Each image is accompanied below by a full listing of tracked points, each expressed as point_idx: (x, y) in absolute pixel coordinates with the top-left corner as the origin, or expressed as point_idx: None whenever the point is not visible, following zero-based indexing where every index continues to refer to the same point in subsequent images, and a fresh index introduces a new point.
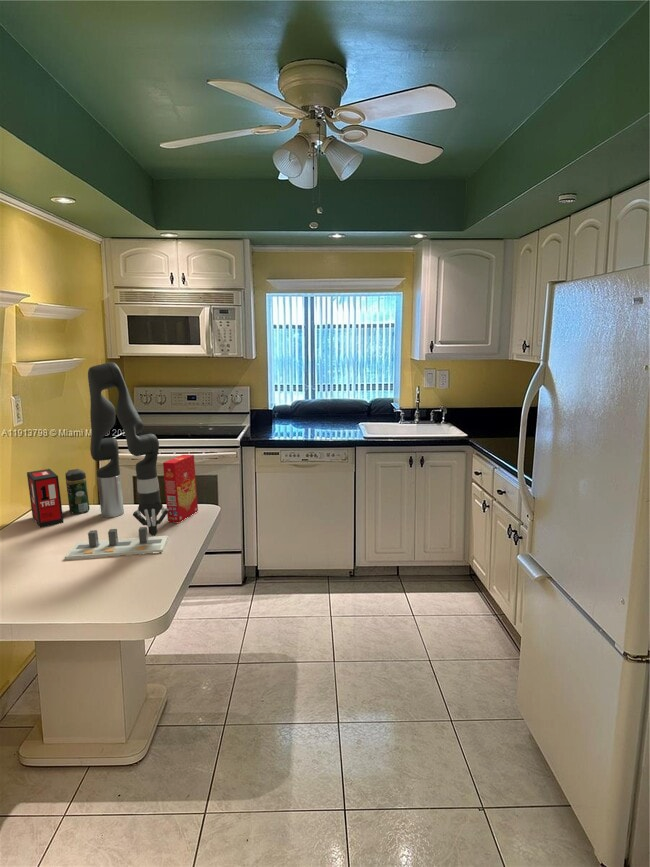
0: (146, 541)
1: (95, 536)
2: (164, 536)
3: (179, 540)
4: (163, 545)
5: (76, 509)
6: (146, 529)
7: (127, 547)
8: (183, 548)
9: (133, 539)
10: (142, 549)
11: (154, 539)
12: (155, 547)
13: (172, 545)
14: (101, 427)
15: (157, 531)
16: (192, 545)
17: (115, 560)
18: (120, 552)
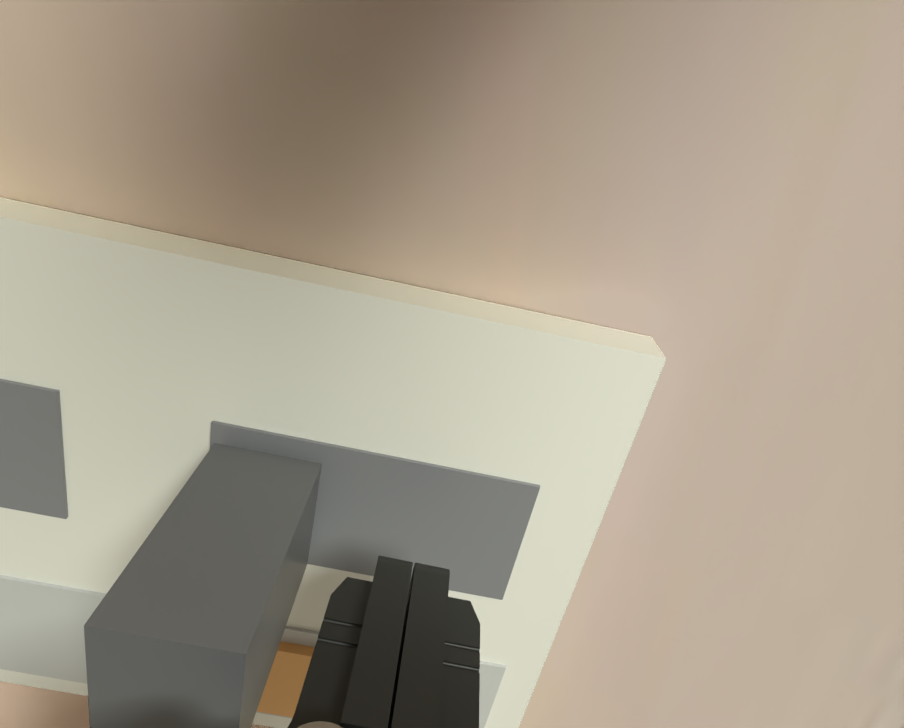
0: (303, 573)
1: None
2: (594, 382)
3: (778, 473)
4: (527, 679)
5: None
6: (256, 662)
7: (65, 589)
8: (735, 707)
9: (68, 310)
10: (274, 702)
11: (423, 444)
12: None
13: (642, 593)
14: None
15: (479, 629)
16: (860, 674)
17: (30, 721)
18: (22, 682)
